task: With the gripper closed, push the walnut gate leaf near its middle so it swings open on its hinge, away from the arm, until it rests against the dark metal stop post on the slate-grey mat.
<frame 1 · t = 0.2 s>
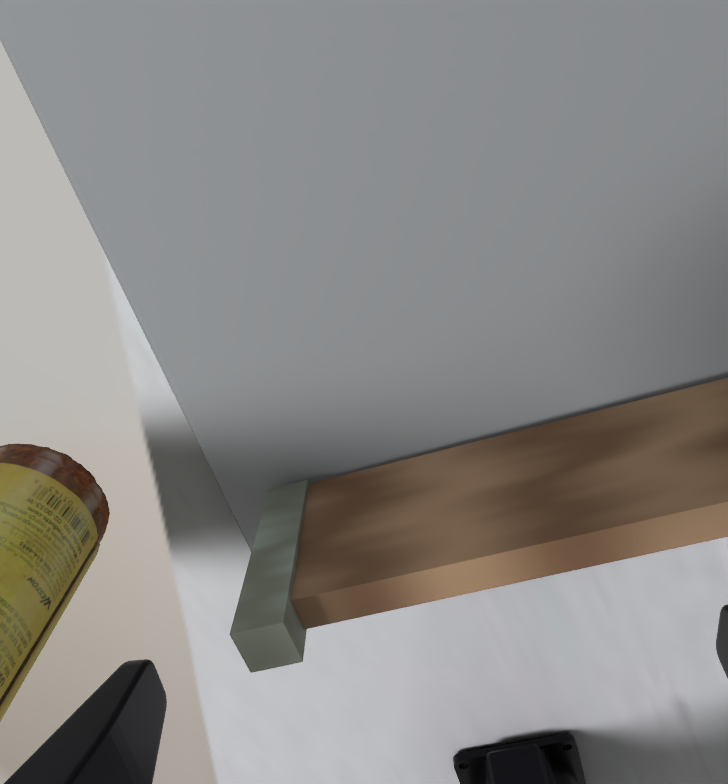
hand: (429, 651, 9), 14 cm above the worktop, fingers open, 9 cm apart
gate: (585, 491, 19), point 5 cm above the worktop, hinge at 0.0°
sauce bottle: (45, 499, 25), on the worktop
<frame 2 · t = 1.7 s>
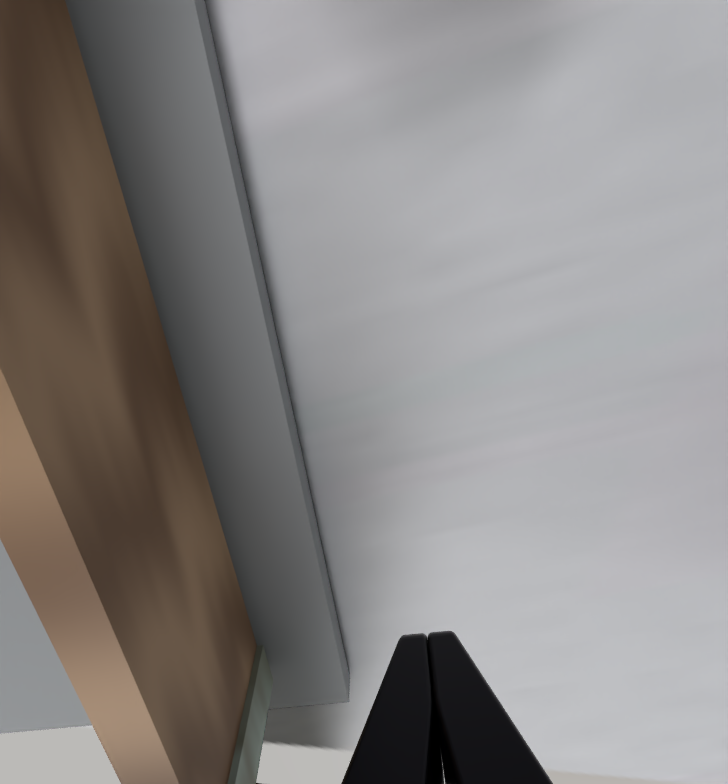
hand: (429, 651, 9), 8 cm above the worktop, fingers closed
gate: (97, 451, 12), point 5 cm above the worktop, hinge at 0.0°
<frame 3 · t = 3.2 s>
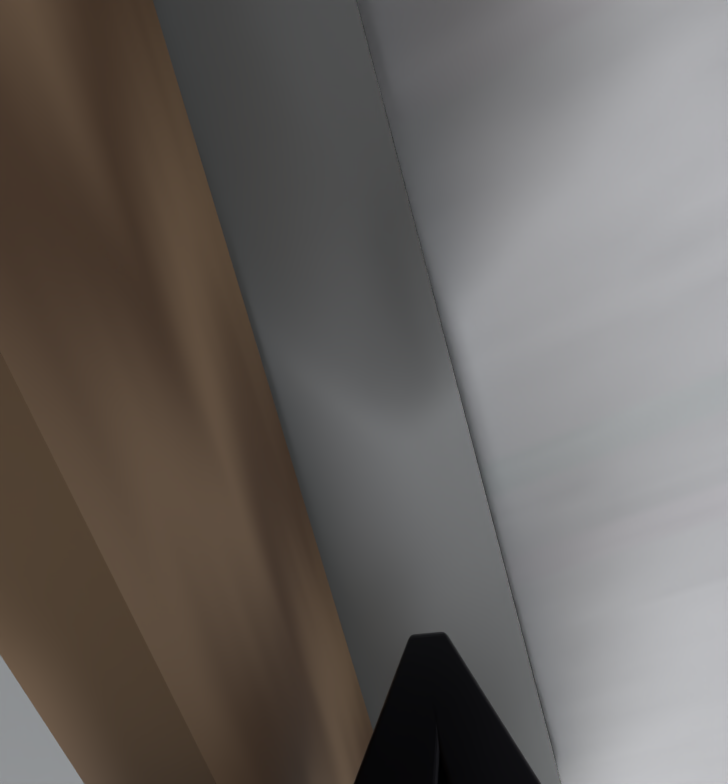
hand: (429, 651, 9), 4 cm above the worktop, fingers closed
gate: (225, 620, 8), point 5 cm above the worktop, hinge at 5.4°, touching gripper
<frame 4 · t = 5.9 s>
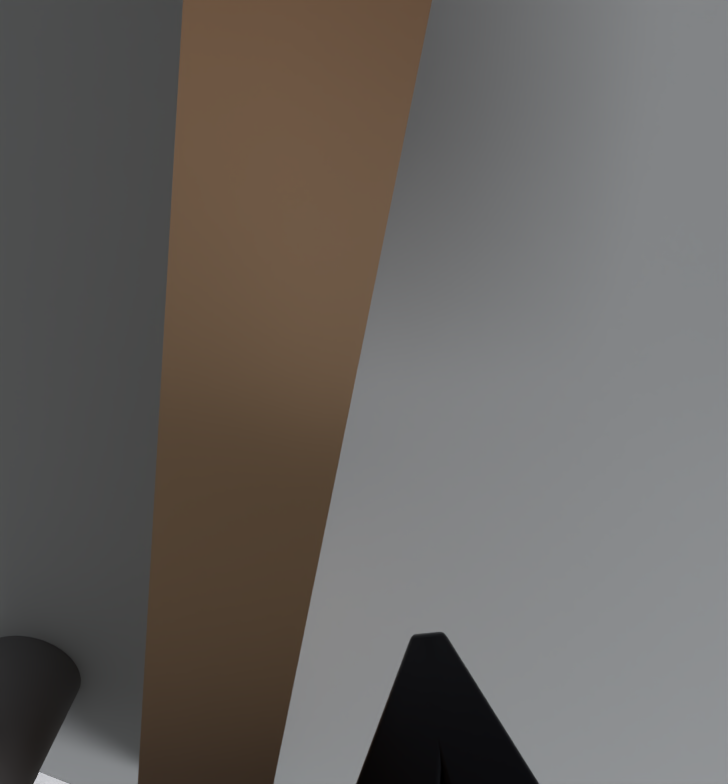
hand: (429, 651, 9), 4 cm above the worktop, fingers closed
gate: (251, 579, 8), point 5 cm above the worktop, hinge at 65.2°, touching gripper
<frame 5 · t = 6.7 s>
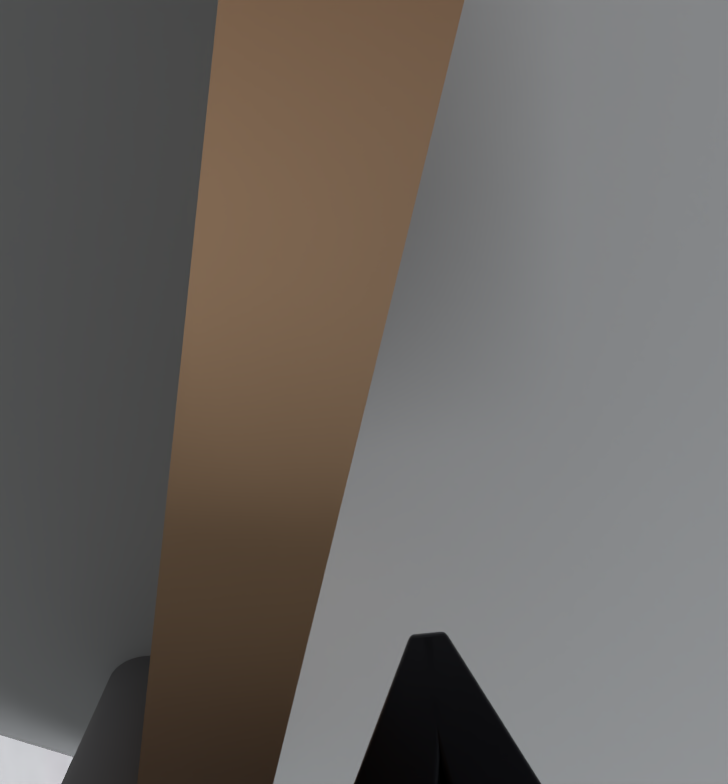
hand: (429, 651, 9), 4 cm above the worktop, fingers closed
gate: (258, 545, 7), point 5 cm above the worktop, hinge at 75.4°, touching gate frame, gripper
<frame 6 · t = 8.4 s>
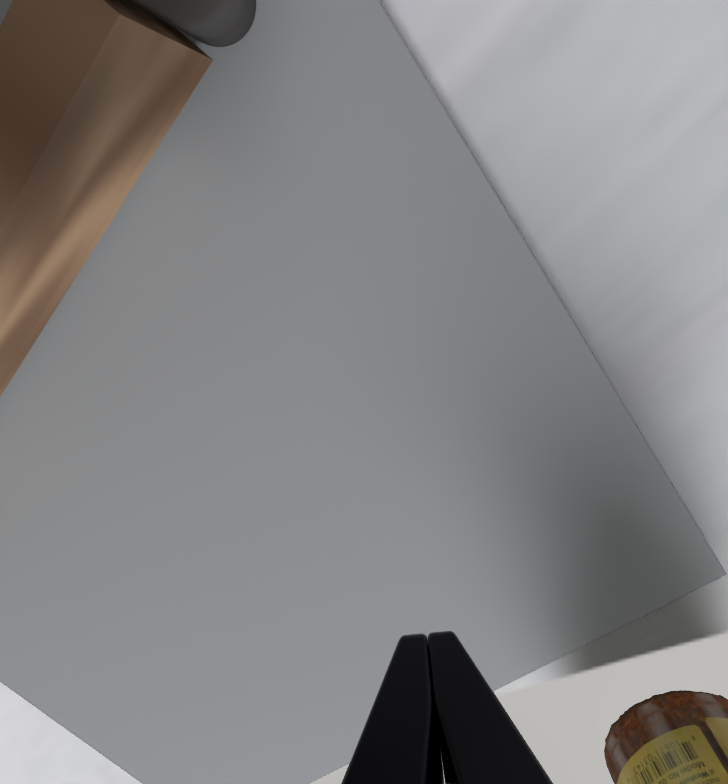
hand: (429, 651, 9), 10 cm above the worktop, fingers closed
gate frame: (228, 12, 15), on the worktop
sauce bottle: (671, 726, 26), on the worktop
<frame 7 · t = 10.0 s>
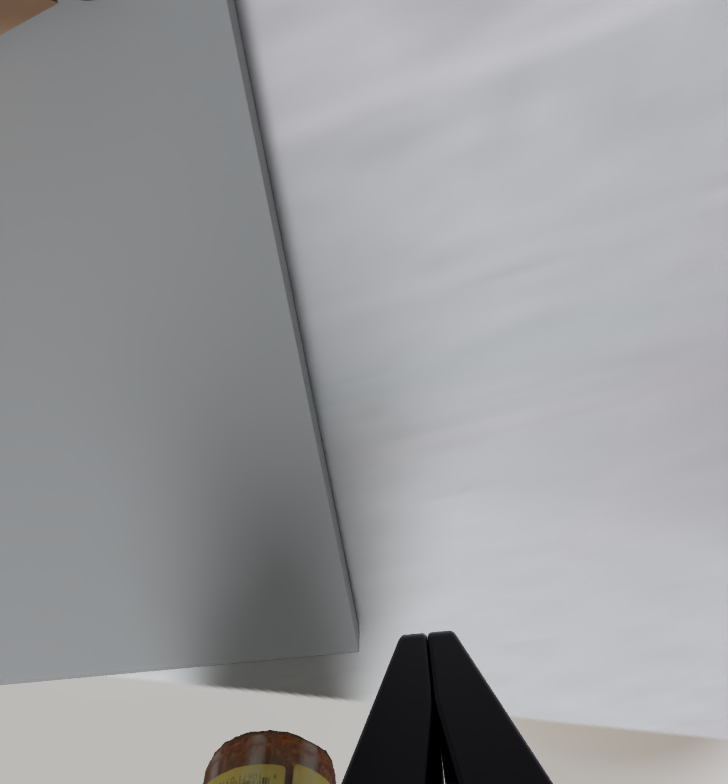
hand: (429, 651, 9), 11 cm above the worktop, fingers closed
sauce bottle: (279, 762, 28), on the worktop
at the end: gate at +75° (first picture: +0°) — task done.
